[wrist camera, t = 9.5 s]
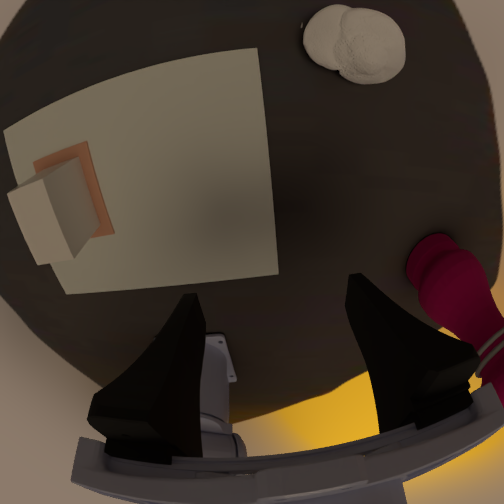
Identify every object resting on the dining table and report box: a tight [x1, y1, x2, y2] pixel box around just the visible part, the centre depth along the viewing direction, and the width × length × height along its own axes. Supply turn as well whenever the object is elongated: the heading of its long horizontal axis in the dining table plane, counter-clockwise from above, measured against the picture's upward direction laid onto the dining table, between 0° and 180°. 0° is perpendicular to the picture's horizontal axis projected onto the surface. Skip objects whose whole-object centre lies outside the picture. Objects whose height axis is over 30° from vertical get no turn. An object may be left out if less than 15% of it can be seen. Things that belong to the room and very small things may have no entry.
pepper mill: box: [406, 233, 504, 408], centre depth 16 cm, size 7×7×20 cm
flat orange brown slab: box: [33, 141, 115, 238], centre depth 19 cm, size 8×6×1 cm
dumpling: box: [301, 5, 405, 85], centre depth 13 cm, size 7×5×4 cm
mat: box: [4, 48, 279, 294], centre depth 20 cm, size 18×22×1 cm
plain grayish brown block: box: [7, 156, 101, 265], centre depth 17 cm, size 4×6×5 cm, turn 7°
